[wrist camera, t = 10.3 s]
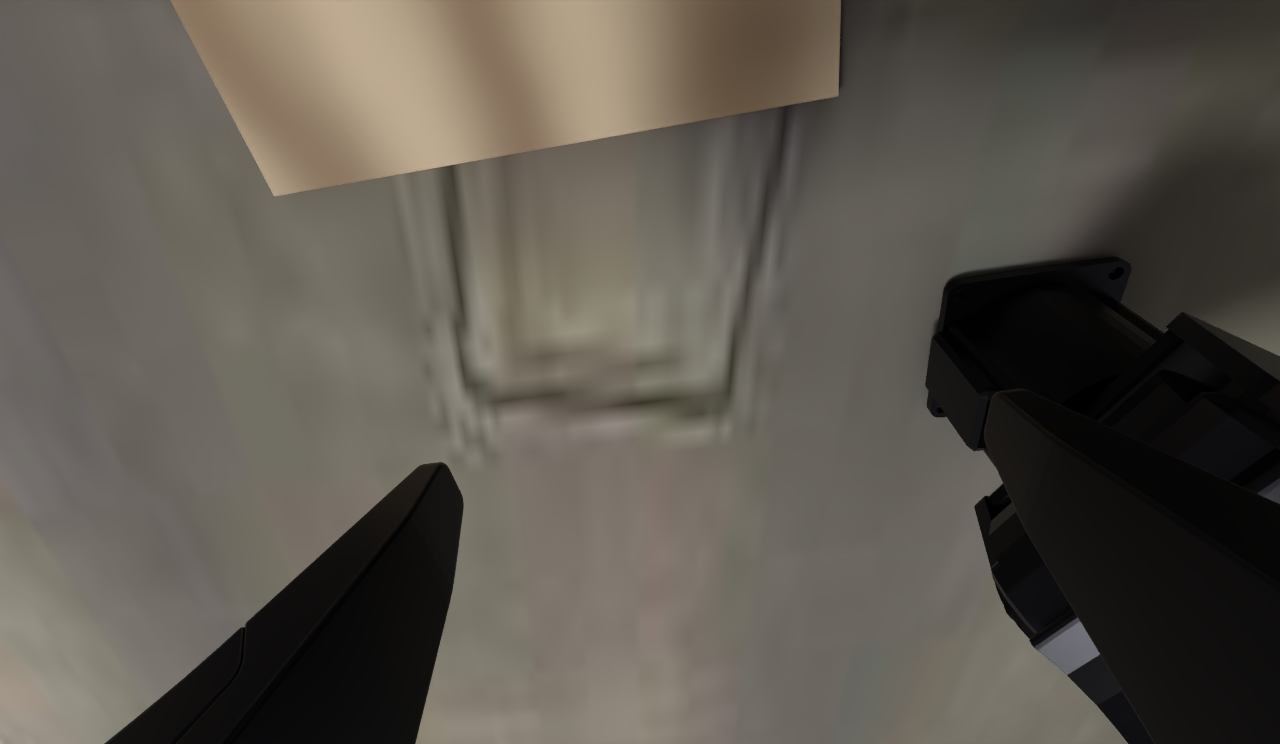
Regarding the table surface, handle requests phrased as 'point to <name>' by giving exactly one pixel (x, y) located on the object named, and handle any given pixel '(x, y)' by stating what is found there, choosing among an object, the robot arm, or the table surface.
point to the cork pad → (493, 74)
